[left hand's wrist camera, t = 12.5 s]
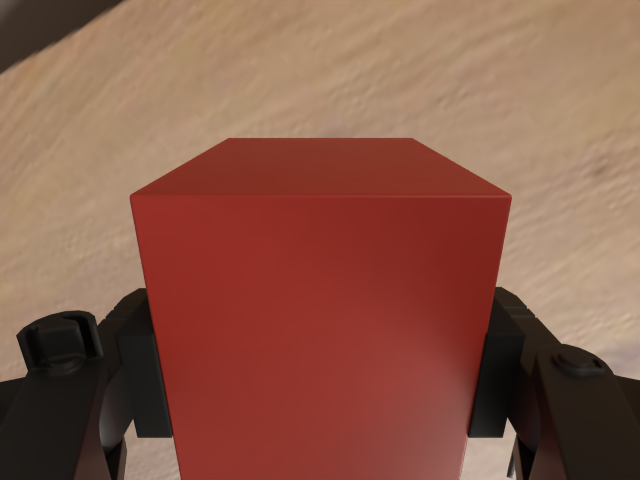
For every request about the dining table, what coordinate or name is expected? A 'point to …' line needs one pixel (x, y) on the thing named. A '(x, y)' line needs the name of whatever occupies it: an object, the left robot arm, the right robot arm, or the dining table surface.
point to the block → (320, 306)
